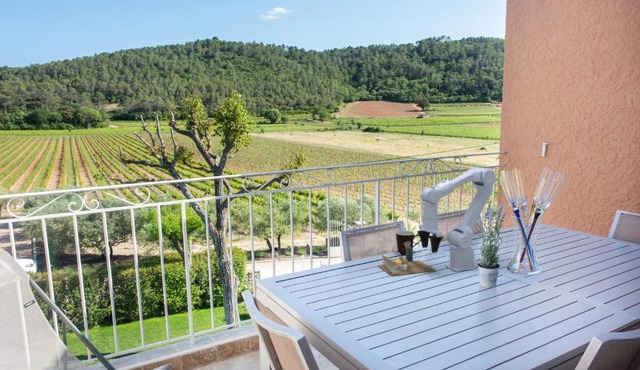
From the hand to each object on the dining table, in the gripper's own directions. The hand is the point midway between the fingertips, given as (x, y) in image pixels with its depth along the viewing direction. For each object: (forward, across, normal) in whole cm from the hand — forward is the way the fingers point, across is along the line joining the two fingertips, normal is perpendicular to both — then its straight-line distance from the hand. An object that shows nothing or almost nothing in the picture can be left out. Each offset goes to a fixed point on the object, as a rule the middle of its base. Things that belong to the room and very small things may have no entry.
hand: (429, 249), depth 198 cm
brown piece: (+9, -7, -7) cm, 14 cm away
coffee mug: (+10, -26, +4) cm, 28 cm away
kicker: (+8, -7, -7) cm, 13 cm away
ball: (+7, -7, -11) cm, 15 cm away
